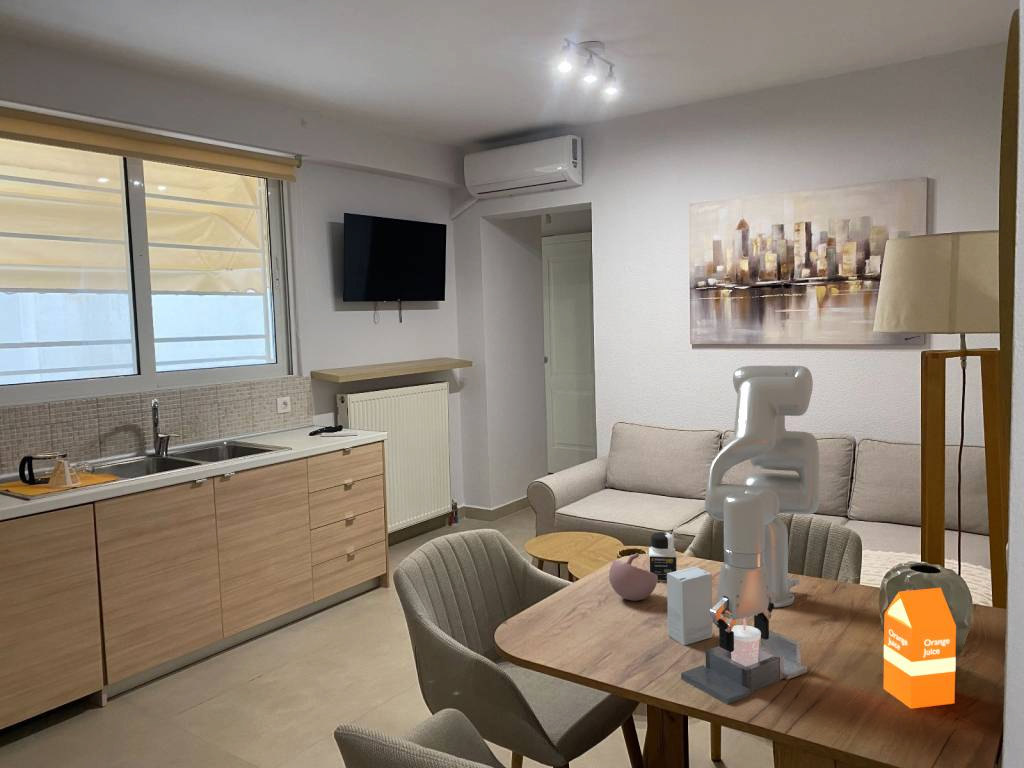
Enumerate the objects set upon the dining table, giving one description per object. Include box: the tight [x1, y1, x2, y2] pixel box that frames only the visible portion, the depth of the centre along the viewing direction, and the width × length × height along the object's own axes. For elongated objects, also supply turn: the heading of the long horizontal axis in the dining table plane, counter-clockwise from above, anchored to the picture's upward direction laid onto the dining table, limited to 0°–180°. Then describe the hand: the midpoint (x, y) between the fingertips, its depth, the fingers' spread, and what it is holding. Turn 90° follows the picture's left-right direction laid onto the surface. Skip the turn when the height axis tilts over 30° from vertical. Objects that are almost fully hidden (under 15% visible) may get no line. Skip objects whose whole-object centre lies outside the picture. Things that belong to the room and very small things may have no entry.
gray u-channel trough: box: [758, 629, 808, 681], centre depth 151 cm, size 7×12×5 cm, turn 31°
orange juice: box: [883, 587, 957, 709], centre depth 137 cm, size 8×9×20 cm
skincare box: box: [666, 565, 713, 646], centre depth 165 cm, size 8×6×15 cm
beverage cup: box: [731, 618, 761, 666], centre depth 147 cm, size 6×6×14 cm
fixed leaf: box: [680, 645, 780, 705], centre depth 146 cm, size 15×12×4 cm
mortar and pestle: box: [608, 552, 658, 602], centre depth 189 cm, size 12×12×12 cm
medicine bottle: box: [648, 531, 678, 582], centre depth 205 cm, size 7×7×12 cm
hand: (744, 643), depth 147 cm, fingers open, 9 cm apart
